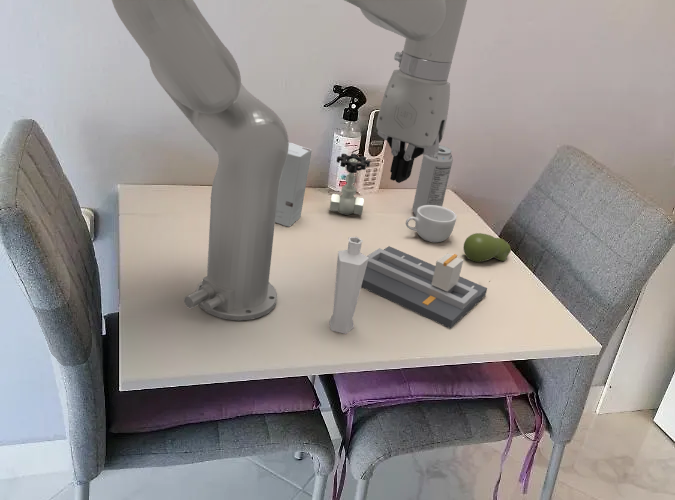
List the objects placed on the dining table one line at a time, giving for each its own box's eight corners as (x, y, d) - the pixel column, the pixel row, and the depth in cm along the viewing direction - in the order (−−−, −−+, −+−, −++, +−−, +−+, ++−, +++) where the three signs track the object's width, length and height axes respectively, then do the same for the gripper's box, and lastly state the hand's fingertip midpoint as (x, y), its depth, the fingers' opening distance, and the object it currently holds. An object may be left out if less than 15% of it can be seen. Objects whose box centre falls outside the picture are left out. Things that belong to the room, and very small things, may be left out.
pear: (463, 227, 130) (503, 231, 135) (454, 252, 132) (493, 254, 137) (481, 241, 125) (520, 244, 130) (470, 266, 127) (510, 268, 132)
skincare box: (252, 216, 134) (258, 144, 127) (265, 206, 139) (272, 136, 132) (291, 228, 132) (300, 155, 125) (303, 217, 137) (312, 146, 130)
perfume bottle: (358, 321, 107) (373, 236, 100) (352, 336, 103) (368, 249, 96) (329, 314, 108) (343, 229, 101) (323, 329, 104) (336, 242, 97)
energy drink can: (427, 207, 149) (441, 142, 142) (445, 219, 145) (460, 153, 138) (405, 211, 146) (419, 144, 139) (423, 223, 142) (437, 155, 135)
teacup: (442, 228, 141) (447, 204, 139) (456, 246, 135) (462, 222, 132) (396, 228, 138) (401, 204, 136) (409, 246, 132) (414, 221, 129)
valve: (361, 222, 138) (370, 167, 133) (328, 218, 138) (336, 162, 132) (361, 209, 144) (370, 155, 138) (329, 204, 144) (337, 151, 138)
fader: (445, 297, 113) (453, 266, 110) (429, 290, 115) (437, 259, 112) (456, 288, 116) (464, 257, 114) (440, 281, 118) (448, 251, 115)
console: (450, 328, 109) (454, 314, 107) (346, 279, 118) (348, 266, 116) (485, 295, 119) (489, 282, 118) (387, 253, 128) (390, 240, 127)
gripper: (370, 56, 105) (348, 168, 113) (458, 84, 98) (427, 201, 106) (395, 53, 110) (372, 160, 119) (478, 79, 104) (448, 190, 112)
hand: (398, 179), depth 112 cm, fingers closed
